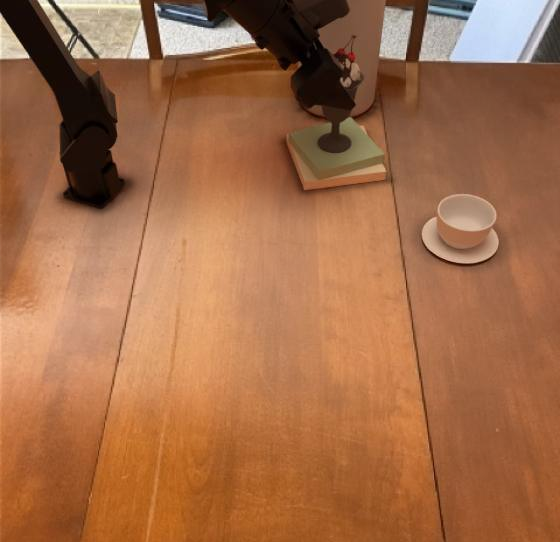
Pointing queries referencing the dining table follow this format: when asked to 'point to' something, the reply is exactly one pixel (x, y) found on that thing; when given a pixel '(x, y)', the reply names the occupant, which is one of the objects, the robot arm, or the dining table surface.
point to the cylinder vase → (357, 46)
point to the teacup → (462, 229)
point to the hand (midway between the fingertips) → (343, 89)
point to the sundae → (350, 81)
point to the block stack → (335, 157)
